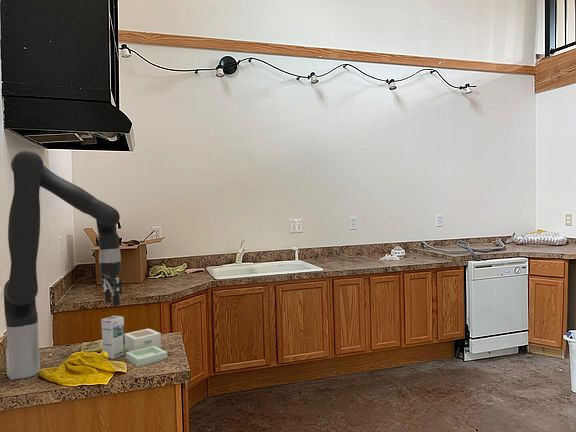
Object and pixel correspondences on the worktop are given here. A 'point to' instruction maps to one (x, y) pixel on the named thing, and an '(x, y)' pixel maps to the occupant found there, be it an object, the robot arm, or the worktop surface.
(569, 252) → the worktop surface
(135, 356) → the tray
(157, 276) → the worktop surface
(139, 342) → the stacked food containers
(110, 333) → the syrup box
